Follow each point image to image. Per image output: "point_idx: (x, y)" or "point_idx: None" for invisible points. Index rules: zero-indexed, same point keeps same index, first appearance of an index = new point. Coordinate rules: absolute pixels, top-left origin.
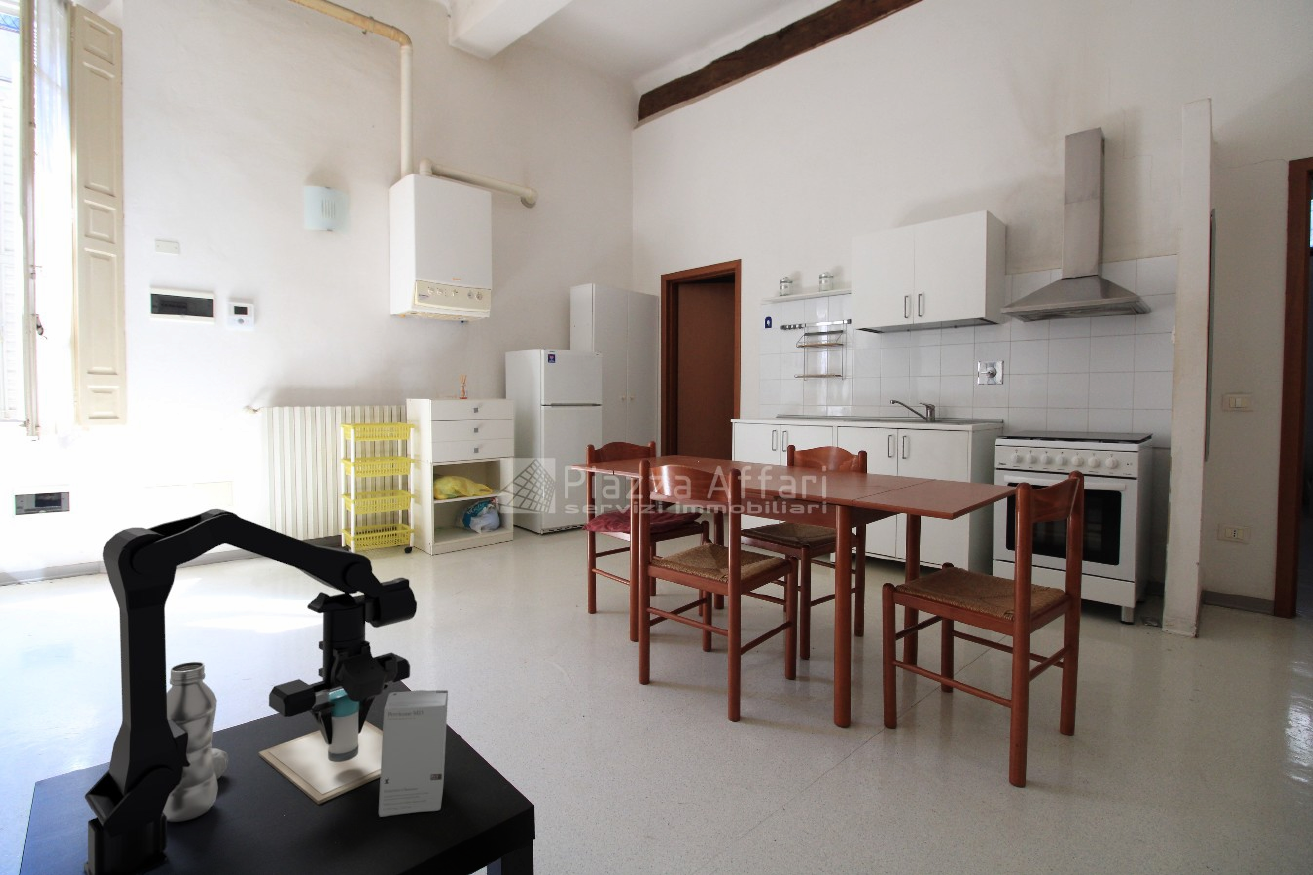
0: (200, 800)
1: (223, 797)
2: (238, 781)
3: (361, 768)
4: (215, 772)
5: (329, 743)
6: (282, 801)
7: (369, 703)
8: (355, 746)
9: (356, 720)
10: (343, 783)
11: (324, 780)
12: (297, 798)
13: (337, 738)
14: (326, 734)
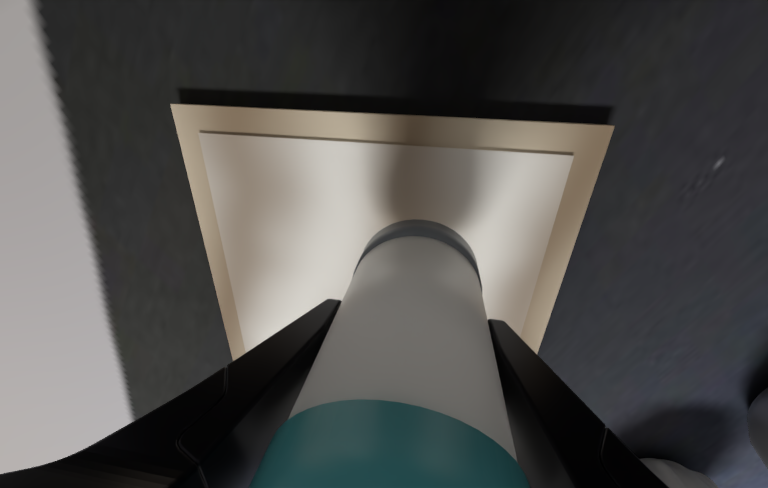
0: None
1: (692, 392)
2: (608, 420)
3: (375, 202)
4: (678, 484)
5: (502, 322)
6: (643, 249)
7: (169, 423)
8: (387, 243)
9: (346, 340)
10: (476, 161)
11: (500, 235)
12: (606, 226)
13: (480, 311)
14: (550, 368)
